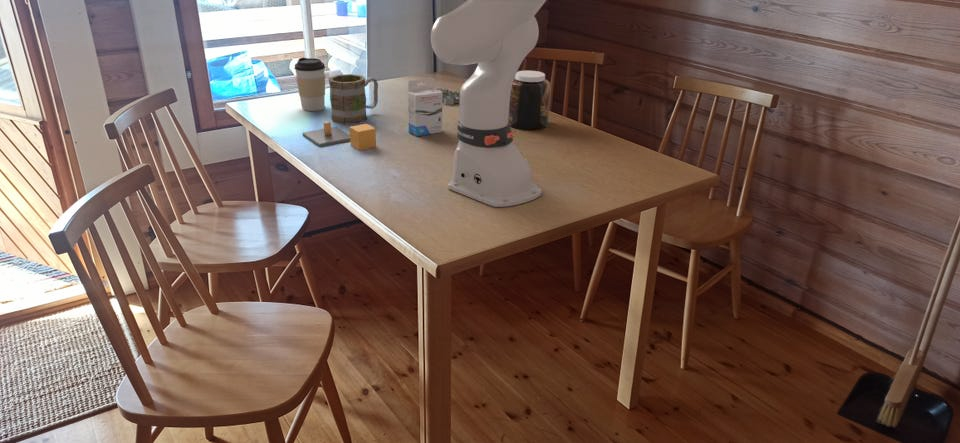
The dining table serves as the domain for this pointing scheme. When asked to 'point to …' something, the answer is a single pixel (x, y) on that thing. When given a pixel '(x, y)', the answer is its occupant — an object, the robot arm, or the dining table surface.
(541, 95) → the jar
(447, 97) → the egg carton
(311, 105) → the coffee cup
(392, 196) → the dining table surface
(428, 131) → the ink box
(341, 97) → the mug
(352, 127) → the orange cubic block
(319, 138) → the plate
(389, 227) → the dining table surface
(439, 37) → the robot arm
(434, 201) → the dining table surface
